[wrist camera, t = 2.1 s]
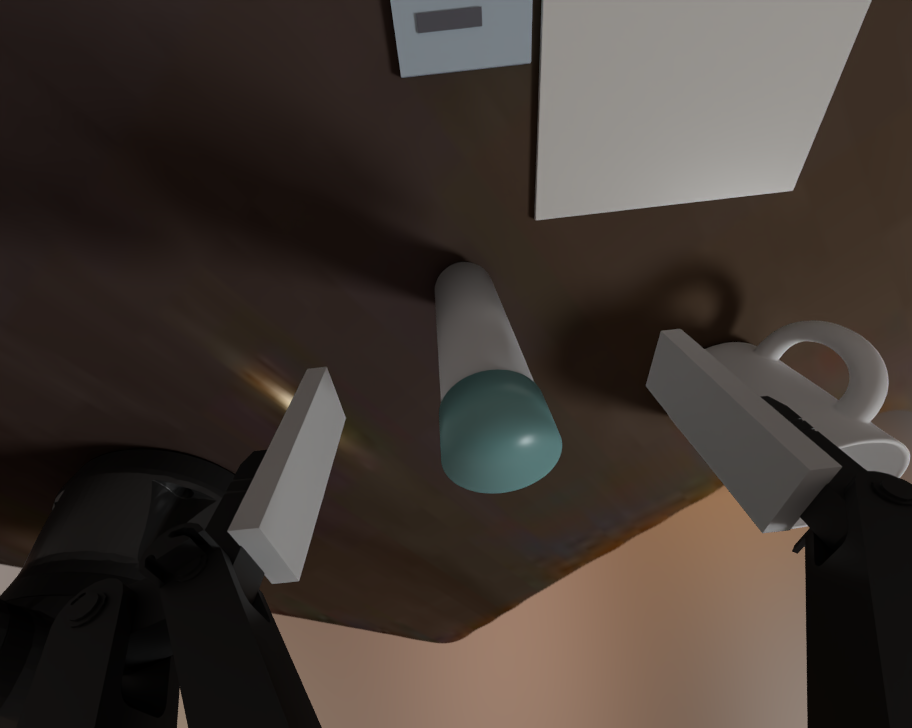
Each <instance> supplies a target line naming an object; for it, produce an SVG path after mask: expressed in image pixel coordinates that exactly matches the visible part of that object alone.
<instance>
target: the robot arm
mask: <svg viewBox="0 0 912 728" xmlns="http://www.w3.org/2000/svg"><path fill="white" fill-rule="evenodd" d="M646 387H647V388H648V390H649V391H650V392H651V393H652V395H653V396H654V397H655V398H656V400H657V401H658V402H659V403H660V405H661V406H662V407H663V409H664V410H665V411H666V412H667V414H668V415H669V416H670V417H671V419H672V420H673V421H674V422H675V424H676V425H677V426H678V427H679V429H680V430H681V431H682V432H683V434H684V435H685V436H686V437H687V439H688V440H689V441H690V443H691V444H692V445H693V446H694V448H695V449H696V450H697V451H698V453H699V454H700V455H701V456H702V458H703V459H704V460H705V461H706V463H707V464H708V465H709V466H710V468H711V469H712V470H713V471H714V473H715V474H716V475H717V477H718V478H719V479H720V480H721V482H722V483H723V484H724V485H725V487H726V488H727V489H728V490H729V492H730V493H731V494H732V495H733V497H734V498H735V499H736V500H737V502H738V503H739V504H740V505H741V507H742V508H743V509H744V511H745V512H746V513H747V514H748V516H749V517H750V518H751V519H752V521H753V522H754V523H755V524H756V526H757V527H758V528H759V529H760V531H761V532H762V533H768V532H778V531H786V530H790V529H791V528H792V527H793V526H794V525H795V523H796V522H797V521H798V520H799V518H801V519H802V520H803V521H804V522H805V523H806V524H807V525H808V526H809V527H810V528H809V530H808V531H807V532H806V533H805V534H804V535H803V536H802V537H801V539H800V540H799V541H798V542H797V543H796V544H795V545H794V548H793V552H795V553H798V552H799V551H800V550H801V549H802V548H803V547H805V560H806V561H805V566H806V567H805V569H806V637H807V638H806V639H807V707H808V708H807V709H808V710H807V711H808V728H912V484H910V483H909V482H907V481H905V480H903V479H900V478H898V477H895V476H893V475H890V474H887V473H882V472H878V471H867V470H866V469H864V468H863V467H862V466H860V465H859V464H858V463H857V462H856V461H854V460H853V459H852V458H851V457H849V456H848V455H847V454H846V453H844V452H843V451H842V450H841V449H840V448H838V447H837V446H836V445H835V444H833V443H832V442H831V441H830V440H828V439H827V438H826V437H825V436H824V435H822V434H821V433H820V432H819V431H815V430H814V427H812V426H811V425H810V424H809V423H808V422H806V421H805V420H804V421H803V420H802V418H801V417H800V416H799V415H798V414H797V413H795V412H794V411H793V410H792V409H790V408H789V407H788V406H787V405H785V404H783V403H781V402H779V401H777V400H775V399H773V398H771V397H769V396H759V395H758V394H756V393H755V392H754V391H753V390H752V389H751V388H749V387H748V386H747V385H746V384H745V383H744V382H742V381H741V380H740V379H739V378H738V377H737V376H735V375H734V374H733V373H732V372H731V371H729V370H728V369H727V368H726V367H725V366H724V365H722V364H721V363H720V362H719V361H718V360H717V359H715V358H714V357H713V356H712V355H711V354H710V353H708V352H707V351H706V350H705V349H704V348H702V347H701V346H700V345H699V344H698V343H697V342H695V341H694V340H693V339H692V338H691V337H690V336H688V335H687V334H686V333H685V332H684V331H683V330H681V329H673V330H664V331H661V332H660V336H659V339H658V343H657V347H656V350H655V354H654V357H653V361H652V365H651V368H650V372H649V375H648V379H647V383H646ZM345 419H346V417H345V415H344V412H343V409H342V407H341V404H340V401H339V399H338V396H337V393H336V391H335V388H334V385H333V382H332V380H331V377H330V374H329V372H328V369H327V367H322V368H312V369H307V371H306V373H305V375H304V377H303V379H302V381H301V383H300V385H299V387H298V389H297V391H296V393H295V395H294V397H293V399H292V401H291V403H290V405H289V407H288V409H287V411H286V413H285V415H284V417H283V419H282V421H281V423H280V425H279V427H278V429H277V431H276V433H275V436H274V438H273V440H272V442H271V444H270V446H269V448H268V450H261V451H254V452H253V453H252V454H251V455H250V456H249V457H248V458H247V459H246V460H245V461H244V462H243V463H242V464H241V465H240V467H239V468H238V470H237V472H236V474H235V475H234V474H232V473H231V472H229V471H227V470H225V469H223V468H221V467H219V466H217V465H215V464H212V463H210V462H207V461H205V460H202V459H199V458H195V457H192V456H188V455H184V454H180V453H175V452H169V451H162V450H149V449H134V450H123V451H116V452H111V453H108V454H104V455H101V456H99V457H97V458H94V459H93V460H91V461H89V462H88V463H86V464H85V465H84V466H83V467H82V468H81V469H80V470H79V471H78V472H77V473H76V474H75V475H74V476H73V477H72V478H71V479H70V480H69V481H68V482H67V483H66V484H65V485H64V486H63V488H62V489H61V490H60V492H59V493H58V495H57V496H56V499H55V501H54V504H53V507H52V512H51V514H50V515H49V517H48V519H47V521H46V523H45V524H44V526H43V528H42V530H41V532H40V534H39V536H38V538H37V540H36V542H35V544H34V546H33V548H32V550H31V552H30V554H29V556H28V558H27V560H26V562H25V564H24V566H23V568H22V570H21V572H20V573H19V575H18V576H17V577H16V578H15V580H14V581H13V582H12V583H11V584H10V586H9V587H8V588H7V589H6V590H5V591H4V592H3V593H2V595H1V596H0V728H177V717H178V703H179V689H180V690H181V694H182V699H183V704H184V709H185V714H186V719H187V724H188V728H322V727H321V725H320V723H319V721H318V718H317V716H316V714H315V711H314V709H313V707H312V705H311V702H310V700H309V698H308V695H307V693H306V691H305V689H304V686H303V684H302V682H301V679H300V677H299V675H298V673H297V670H296V668H295V666H294V664H293V661H292V659H291V657H290V655H289V652H288V650H287V648H286V646H285V643H284V641H283V639H282V636H281V634H280V632H279V630H278V627H277V625H276V623H275V620H274V618H273V616H272V614H271V611H270V609H269V607H268V605H267V602H266V600H265V598H264V595H263V593H262V592H261V591H260V590H259V587H260V584H261V582H262V579H263V576H264V575H265V576H266V577H267V578H268V580H269V581H270V582H271V583H272V584H276V583H286V582H295V581H299V579H300V576H301V572H302V569H303V566H304V562H305V559H306V555H307V552H308V548H309V545H310V541H311V538H312V534H313V531H314V527H315V524H316V520H317V517H318V513H319V510H320V506H321V503H322V499H323V496H324V492H325V489H326V485H327V482H328V478H329V475H330V471H331V468H332V464H333V461H334V457H335V454H336V450H337V447H338V443H339V440H340V436H341V433H342V429H343V426H344V422H345Z"/></svg>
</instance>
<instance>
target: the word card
mask: <svg viewBox="0 0 912 728" xmlns="http://www.w3.org/2000/svg"><path fill="white" fill-rule="evenodd" d="M390 2H391V9H392V16H393V23H394V30H395V37H396V44H397V51H398V58H399V65H400V72H401V78H405V77H414V76H423V75H432V74H441V73H450V72H459V71H468V70H477V69H486V68H495V67H503V66H512V65H521V64H529V63H531V40H532V0H390Z"/></svg>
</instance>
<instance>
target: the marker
mask: <svg viewBox="0 0 912 728" xmlns="http://www.w3.org/2000/svg"><path fill="white" fill-rule="evenodd" d="M435 307H436V324H437V341H438V358H439V375H440V392H441V405H440V408H439V425H440V445H441V463H442V467H443V469H444V471H445V473H446V474H447V476H448V477H449V478H450V479H451V480H452V481H453V482H454V483H456V484H457V485H459V486H461V487H463V488H465V489H468V490H471V491H475V492H480V493H504V492H510V491H514V490H518V489H521V488H524V487H526V486H529V485H531V484H533V483H535V482H537V481H538V480H540V479H541V478H543V477H544V476H545V475H546V474H548V473H549V472H550V471H551V470H552V468H553V467H554V466H555V465H556V463H557V461H558V460H559V457H560V455H561V451H562V440H561V436H560V434H559V432H558V429H557V427H556V425H555V422H554V420H553V418H552V415H551V413H550V411H549V408H548V406H547V404H546V401H545V399H544V397H543V394H542V392H541V390H540V389H539V387H538V386H537V385H536V383H535V382H534V380H533V378H532V376H531V373H530V371H529V368H528V366H527V364H526V361H525V359H524V357H523V354H522V352H521V349H520V347H519V345H518V342H517V340H516V337H515V335H514V333H513V330H512V328H511V325H510V323H509V321H508V318H507V316H506V313H505V311H504V309H503V306H502V304H501V302H500V299H499V297H498V294H497V292H496V290H495V287H494V285H493V282H492V280H491V278H490V276H489V274H488V273H487V272H486V270H484V269H483V268H482V267H481V266H479V265H477V264H474V263H470V262H456V263H454V264H451V265H450V266H448V267H447V268H446V269H445V270H444V271H443V272H442V273H441V274H440V275H439V277H438V279H437V281H436V284H435Z"/></svg>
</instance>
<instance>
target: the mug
mask: <svg viewBox="0 0 912 728" xmlns="http://www.w3.org/2000/svg"><path fill="white" fill-rule="evenodd" d="M802 341H813V342H818V343H821V344H824V345H826V346H828V347H829V348H831V349H832V350H834V351H835V352H836V353H837V354H839V355H840V356H841V358H842V359H843V360H844V361H845V363H846V365H847V367H848V370H849V376H850V380H849V385H848V388H847V390H846V392H845V393H844V395H843V396H842V397H841V398H840V399H839V400H838V399H836V398H835V397H833V396H832V395H830V394H829V393H827V392H826V391H825V390H823V389H822V388H820V387H819V386H817V385H816V384H814V383H813V382H811V381H810V380H808V379H807V378H805V377H804V376H802V375H801V374H799V373H798V372H796V371H795V370H793V369H792V368H790V367H789V366H787V365H786V364H784V363H783V362H782V361H780V360H779V358H780V357H781V356H782V355H783V353H784V352H785V351H786V350H787V349H788V348H790V347H791V346H792V345H794V344H796V343H799V342H802ZM705 350H706V351H707V352H708V353H710V354H711V355H712V356H713V357H714V358H715V359H717V360H718V361H719V362H720V363H721V364H722V365H724V366H725V367H726V368H727V369H728V370H729V371H731V372H732V373H733V374H734V375H735V376H737V377H738V378H739V379H740V380H741V381H742V382H744V383H745V384H746V385H747V386H748V387H749V388H751V389H752V390H753V391H754V392H755V393H756V394H758V395H759V396H769V397H771V398H773V399H775V400H777V401H779V402H781V403H783V404H785V405H787V406H788V407H789V408H790V409H792V410H793V411H794V412H795V413H797V414H798V415H799V416H800V417H801V418H802V420H803V421H804V420H805V421H806V422H808V423H809V424H810V425H811V426H812V427H814V430H815V431H819V432H820V433H821V434H822V435H824V436H825V437H826V438H827V439H828V440H830V441H831V442H832V443H833V444H835V445H836V446H837V447H838V448H840V449H841V450H842V451H843V452H844V453H846V454H847V455H848V456H849V457H851V458H852V459H853V460H854V461H856V462H857V463H858V464H859V465H860V466H862V467H863V468H864V469H866V470H867V471H878V472H882V473H887V474H890V475H893V476H895V477H898V478H900V477H901V476H902V475H903V473H904V472H905V470H906V469H907V467H908V465H909V461H910V453H909V450H908V449H907V447H906V446H905V445H904V444H903V443H901V442H900V441H898V440H897V439H895V438H894V437H892V436H890V435H889V434H887V433H886V432H884V431H883V430H882V429H880V428H879V427H877V426H876V425H874V424H873V423H872V422H870V421H871V420H872V419H873V418H874V417H875V416H876V414H877V413H878V412H879V410H880V408H881V407H882V405H883V403H884V400H885V398H886V395H887V391H888V384H889V382H888V372H887V369H886V366H885V363H884V361H883V359H882V357H881V356H880V354H879V352H878V351H877V350H876V349H875V348H874V347H873V345H872V344H871V343H870V342H868V341H867V340H866V339H865V338H863V337H862V336H861V335H859V334H857V333H856V332H854V331H852V330H850V329H848V328H845V327H843V326H840V325H838V324H834V323H830V322H826V321H815V320H813V321H800V322H796V323H791V324H788V325H786V326H783V327H781V328H779V329H777V330H776V331H774V332H773V333H771V334H770V335H769V336H767V337H766V338H765V339H764V340H763V341H762V342H761V343H760V344H759V345H758V346H755V345H752V344H749V343H743V342H729V343H723V344H718V345H714V346H712V347H709V348H706V349H705ZM668 416H669V415H668ZM669 417H670V416H669ZM670 418H671V417H670ZM671 420H672V419H671ZM672 421H673V420H672ZM673 422H674V421H673ZM674 424H675V422H674ZM675 425H676V424H675ZM676 426H677V425H676ZM677 427H678V426H677ZM678 429H679V427H678ZM679 430H680V429H679ZM680 431H681V430H680ZM681 432H682V431H681ZM682 433H683V432H682ZM683 435H684V434H683ZM684 436H685V435H684ZM685 437H686V436H685ZM686 438H687V437H686ZM688 441H689V440H688ZM689 442H690V441H689ZM692 446H693V445H692ZM693 447H694V446H693ZM697 452H698V451H697ZM701 457H702V456H701ZM806 526H808V525H807V524H806V523H805V522H804V521H803V520H802V519H801V518H799V520H798V521H797V522H796V523H795V525H794V526H793V527H792V528H791V529H793V528H801V527H806Z"/></svg>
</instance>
